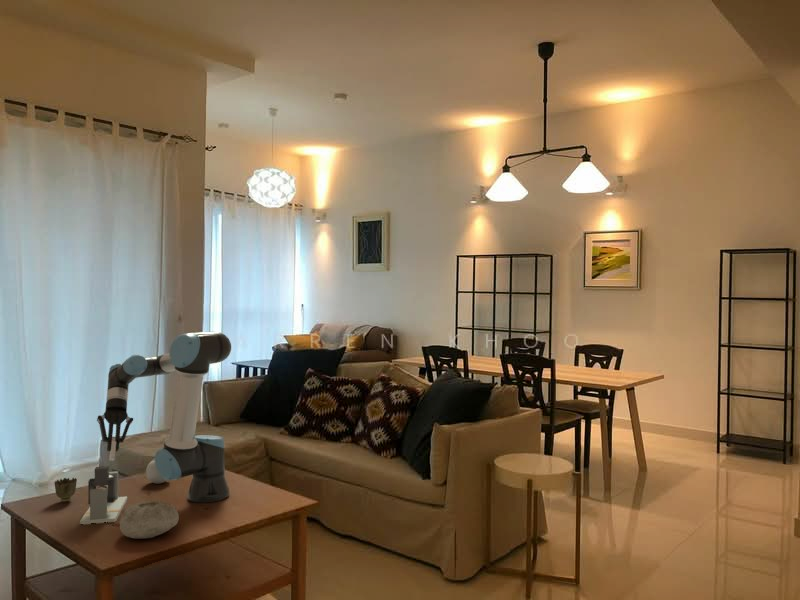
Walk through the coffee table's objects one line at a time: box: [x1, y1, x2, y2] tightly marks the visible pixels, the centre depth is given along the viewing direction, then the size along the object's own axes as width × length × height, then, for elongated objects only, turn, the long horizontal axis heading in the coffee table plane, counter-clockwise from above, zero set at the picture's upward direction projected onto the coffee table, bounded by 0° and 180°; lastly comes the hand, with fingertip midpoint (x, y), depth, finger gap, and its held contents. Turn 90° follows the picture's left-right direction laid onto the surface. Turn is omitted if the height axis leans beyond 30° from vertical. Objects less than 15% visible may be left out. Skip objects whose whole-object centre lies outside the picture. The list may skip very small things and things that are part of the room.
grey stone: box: [119, 500, 180, 540], centre depth 207 cm, size 18×18×10 cm
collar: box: [87, 465, 115, 505], centre depth 223 cm, size 3×8×12 cm, turn 104°
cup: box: [53, 477, 78, 504], centre depth 239 cm, size 8×7×8 cm
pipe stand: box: [79, 471, 128, 525], centre depth 228 cm, size 24×11×11 cm, turn 14°
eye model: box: [145, 458, 167, 484], centre depth 262 cm, size 10×10×10 cm
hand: (112, 459), depth 235 cm, fingers closed
